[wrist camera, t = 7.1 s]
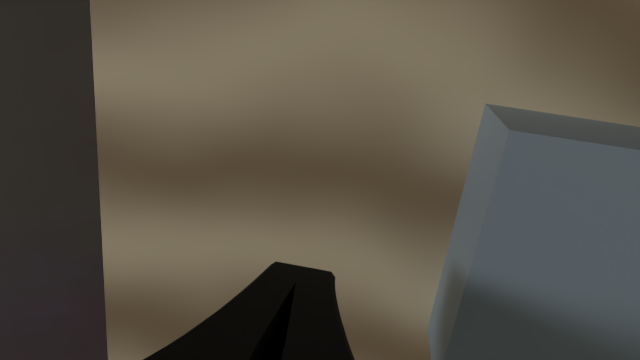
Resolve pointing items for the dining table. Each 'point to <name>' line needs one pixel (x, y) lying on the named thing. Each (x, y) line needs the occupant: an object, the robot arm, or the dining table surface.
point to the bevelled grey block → (543, 243)
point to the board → (319, 144)
